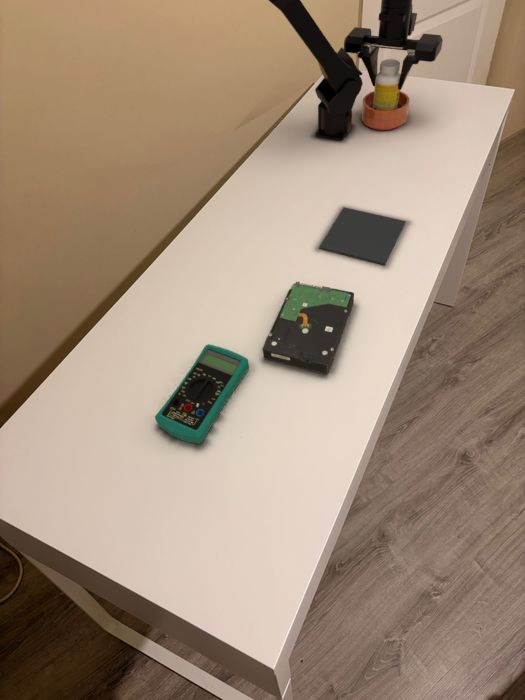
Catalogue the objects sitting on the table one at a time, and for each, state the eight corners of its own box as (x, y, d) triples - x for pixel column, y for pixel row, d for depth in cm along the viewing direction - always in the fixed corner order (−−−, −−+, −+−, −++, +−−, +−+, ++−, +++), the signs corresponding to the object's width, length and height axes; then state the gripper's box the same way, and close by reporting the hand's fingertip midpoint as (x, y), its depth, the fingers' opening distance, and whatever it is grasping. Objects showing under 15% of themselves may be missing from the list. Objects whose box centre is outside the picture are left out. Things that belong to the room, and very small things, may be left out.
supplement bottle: (399, 115, 109) (405, 67, 101) (374, 117, 109) (378, 70, 101) (395, 102, 112) (401, 56, 104) (371, 104, 112) (375, 58, 104)
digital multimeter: (155, 429, 69) (149, 419, 67) (210, 351, 77) (206, 339, 74) (199, 449, 67) (195, 440, 64) (251, 367, 74) (249, 355, 72)
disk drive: (329, 376, 72) (354, 302, 80) (330, 365, 70) (355, 290, 78) (263, 360, 75) (292, 290, 83) (261, 349, 73) (292, 278, 80)
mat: (319, 248, 88) (319, 246, 88) (343, 208, 94) (343, 207, 94) (384, 265, 84) (384, 263, 84) (405, 222, 90) (405, 221, 90)
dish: (355, 127, 111) (356, 107, 108) (370, 106, 116) (371, 86, 113) (398, 134, 108) (401, 114, 104) (412, 112, 113) (415, 92, 110)
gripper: (457, -10, 95) (441, 75, 107) (364, -15, 101) (359, 65, 114) (441, 13, 89) (426, 100, 102) (344, 5, 96) (341, 88, 108)
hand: (387, 87), depth 106 cm, fingers closed on supplement bottle, 5 cm apart
